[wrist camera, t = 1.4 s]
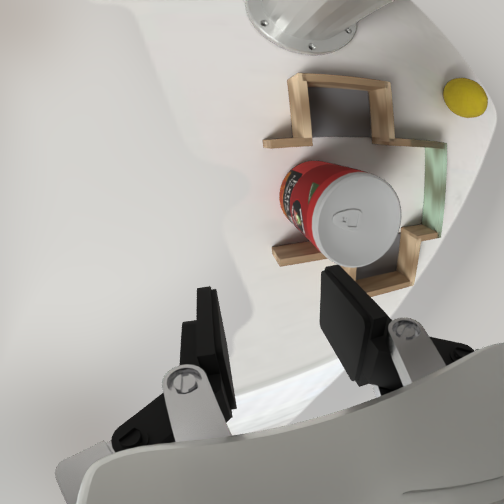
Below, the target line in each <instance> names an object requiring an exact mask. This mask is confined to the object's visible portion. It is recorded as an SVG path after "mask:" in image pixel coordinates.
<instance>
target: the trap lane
mask: <svg viewBox="0 0 504 504" xmlns="http://www.w3.org/2000/svg"><path fill="white" fill-rule="evenodd" d="M287 83H288V92H289V102H290V112H291V123H292V134H293V138H283V139H269V140H263V148H271V149H272V148H285V147H301V146H313V143H312V137H371V130H372V144H381V145H390V146H411V147H425V188H424V205H423V217H422V224H421V225H414V226H407V227H401V236H400V233H398V235H397V237H396V239H395V241H394V243H393V244H392V245H391V247H390V248H389V250H388V251H387V252H386V253H385V254H384V255H383V256H382V257H380V258H379V259H378V260H376V261H374V262H372V263H371V264H368V265H365V266H362V267H355V268H350V267H343V266H341V267H342V268H343V269H344V270H345V271H346V272H347V273H348V274H349V275H350V276H351V277H352V278H353V279H354V280H355V282H356V283H357V284H358V285H359V286H360V287H361V288H362V289H363V290H364V291H365V292H366V293H367V294H368V295H369V296H370V297H373V296H376V295H380V294H384V293H388V292H391V291H395V290H399V289H402V288H406V287H409V286H413V285H414V281H415V276H416V270H417V264H418V258H419V251H420V244H421V241H425V240H430V239H435V238H440V237H441V232H442V224H443V215H444V204H445V192H446V171H447V143H443V142H435V141H427V140H416V139H403V138H395V133H394V116H393V104H392V93H391V84H390V82H387V81H381V80H374V79H367V78H359V77H350V76H340V75H327V74H308V73H297V74H296V75H294V76H293V77H291V78H290V79H288V80H287ZM368 93H369V98H368ZM369 104H370V109H369ZM370 116H371V122H370ZM399 244H400V246H399ZM398 253H399V255H398ZM272 254H273V255H274V257H275V259H276V261H277V262H278V264H279V266H280V267H281V266H287V265H293V264H299V263H305V262H311V261H316V260H322V259H328V258H326V257H325V256H324V255H323V254H322V253H321V252H320V251H319V250H318V249H317V248H316V247H315V246H314V245H313V244H312V243H311V242H310V241H308V242H301V243H295V244H288V245H282V246H275V247H272ZM397 261H398V262H397ZM396 269H397V270H396Z"/></svg>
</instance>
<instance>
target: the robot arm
mask: <svg viewBox="0 0 504 504" xmlns="http://www.w3.org/2000/svg"><path fill="white" fill-rule="evenodd" d="M392 1H394V0H246V1H245V4H246V11H247V14H248V16H249V19H250V21H251V22H252V24H253V25H254V27H255V28H256V29H257V30H258V31H259V32H260V33H261V34H262V35H263V36H264V37H265V38H267V39H268V40H269V41H271V42H272V43H274V44H276V45H277V46H279V47H281V48H284V49H286V50H289V51H291V52H295V53H299V54H304V55H324V54H328V53H332V52H334V51H336V50H338V49H340V48H342V47H343V46H345V45H346V44H347V43H348V42H349V41H350V40H351V39H352V37H353V35H354V33H355V30H356V26H357V21H359V20H361V19H362V18H364V17H366V16H367V15H369V14H371V13H372V12H374V11H376V10H378V9H379V8H381V7H383V6H385V5H387V4H389V3H390V2H392ZM262 25H265V27H264V26H262ZM309 47H310V48H311V49H309ZM320 327H321V329H322V331H323V333H324V334H325V336H326V338H327V339H328V341H329V343H330V344H331V346H332V348H333V350H334V351H335V353H336V355H337V356H338V358H339V360H340V362H341V363H342V365H343V367H344V369H345V370H346V372H347V374H348V375H349V377H350V379H351V380H352V381H356V382H357V384H358V386H359V387H360V386H363V385H366V384H372V385H373V390H374V393H375V397H376V398H375V399H372V400H370V401H367V402H364V403H361V404H359V405H356V406H353V407H350V408H347V409H344V410H341V411H338V412H334V413H331V414H328V415H324V416H321V417H317V418H314V419H310V420H306V421H303V422H299V423H295V424H291V425H286V426H282V427H277V428H273V429H268V430H263V431H257V432H252V433H246V434H240V435H233V436H232V435H231V433H230V430H229V428H228V426H227V424H226V422H227V421H228V420H229V419H230V418H232V411H231V410H232V409H237V407H236V401H235V394H234V388H233V382H232V375H231V369H230V362H229V355H228V349H227V342H226V338H225V332H224V327H223V322H222V317H221V312H220V306H219V301H218V296H217V291H216V289H213V290H211V287H210V286H209V287H202V288H197V320H194V321H187V322H183V323H182V335H181V350H180V366H177V367H174V368H173V369H171V370H170V371H168V372H167V373H166V375H165V376H164V378H163V380H162V388H163V393H162V394H161V395H160V396H159V397H157V398H156V399H155V400H153V401H152V402H151V403H150V404H148V405H147V406H146V407H144V408H143V409H142V410H141V411H139V412H138V413H137V414H136V415H134V416H133V417H131V418H130V419H129V420H127V421H126V422H125V423H124V424H122V425H121V426H119V428H118V429H117V430H115V432H114V434H113V436H112V440H111V441H109V442H107V443H106V442H105V441H102V442H100V443H98V444H96V445H94V446H92V447H90V448H88V449H86V450H84V451H82V452H80V453H77V454H75V455H73V456H71V457H69V458H67V459H65V460H63V461H61V462H60V463H59V464H58V466H57V467H56V471H55V475H56V480H57V482H58V485H59V487H60V490H61V492H62V494H63V496H64V498H65V501H66V503H67V504H504V343H499V344H494V345H491V346H487V347H484V348H482V349H476V350H475V351H474V350H473V349H472V348H471V347H469V346H468V345H465V344H462V343H456V342H452V341H447V340H443V339H438V338H433V337H429V336H428V334H427V332H426V331H425V329H424V328H423V326H422V325H421V324H420V323H419V322H417V321H416V320H413V319H411V318H397V319H395V320H393V321H392V320H391V319H390V318H389V317H388V315H387V314H386V313H385V312H384V311H383V310H382V309H381V308H380V307H379V306H378V304H377V303H376V302H375V301H374V300H373V299H372V298H371V297H370V296H369V295H368V294H367V293H366V292H365V291H364V290H363V289H362V288H361V287H360V286H359V285H358V284H357V283H356V282H355V280H354V279H353V278H352V277H351V276H350V275H349V274H348V273H347V272H346V271H345V270H344V269H343V268H342V267H341V266H340V265H333V266H328V267H326V268H325V271H322V272H321V300H320Z"/></svg>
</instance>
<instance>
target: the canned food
mask: <svg viewBox="0 0 504 504" xmlns="http://www.w3.org/2000/svg"><path fill="white" fill-rule="evenodd" d="M280 205H281V208H282V210H283V213H284V214H285V216H286V217H287V218H288V219H289V220H290V221H291V222H292V223H293V224H294V226H295V227H296V228H297V229H298V230H299V231H300V232H301V233H302V234H303V235H304V236H305V237H306V238H307V239H308V240H309V241H310V242H311V243H312V244H313V245H314V246H315V247H316V248H317V249H318V250H319V251H320V252H321V253H322V254H323V255H324V256H325V257H326V258H328V259H329V260H330V261H332V262H334V263H336V264H337V265H340V266H343V267H350V268H355V267H362V266H365V265H368V264H371V263H372V262H374V261H376V260H378V259H379V258H380V257H382V256H383V255H384V254H385V253H386V252H387V251H388V250H389V248H390V247H391V245H392V244H393V243H394V241H395V239H396V237H397V235H398V232H399V228H400V224H401V206H400V201H399V198H398V196H397V194H396V192H395V191H394V189H393V188H392V186H391V185H390V184H389V183H388V182H386V181H385V180H384V179H382V178H380V177H378V176H376V175H374V174H371V173H368V172H364V171H361V170H357V169H353V168H349V167H345V166H340V165H336V164H331V163H327V162H322V161H308V162H304V163H302V164H299V165H298V166H296V167H294V168H293V169H292V170H291V171H290V172H289V173H288V174H287V175H286V177H285V178H284V180H283V182H282V185H281V188H280Z"/></svg>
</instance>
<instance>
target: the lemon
mask: <svg viewBox="0 0 504 504" xmlns="http://www.w3.org/2000/svg"><path fill="white" fill-rule="evenodd" d="M443 96H444V100H445V103H446V105H447V106H448V108H449V109H450V110H451V111H452V112H453V113H455V114H456V115H459V116H461V117H466V118H472V117H477V116H480V115H482V114H483V113H484V112H485V110H486V108H487V104H488V98H487V95H486V93H485V91H484V89H483V88H482V87H481V86H480V85H479V84H478V83H477V82H475V81H473V80H470V79H466V78H456V79H453V80H451V81H449V82H448V83H447V84H446V86H445V87H444V92H443Z"/></svg>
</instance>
